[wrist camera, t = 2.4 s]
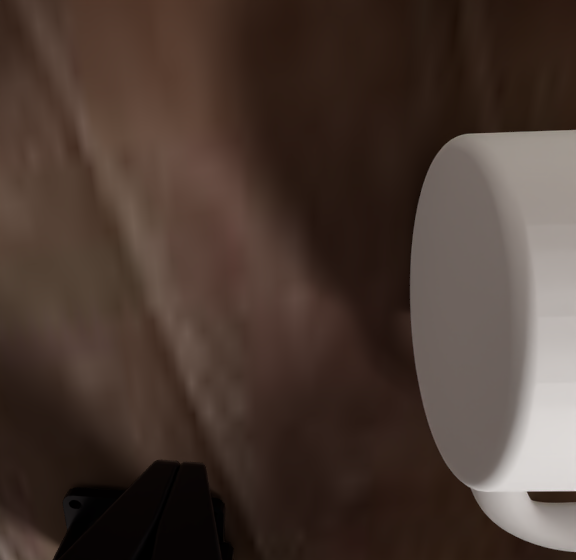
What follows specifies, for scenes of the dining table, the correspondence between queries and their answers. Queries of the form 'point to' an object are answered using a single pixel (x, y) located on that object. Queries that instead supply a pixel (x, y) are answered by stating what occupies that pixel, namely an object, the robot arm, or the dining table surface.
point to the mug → (501, 323)
